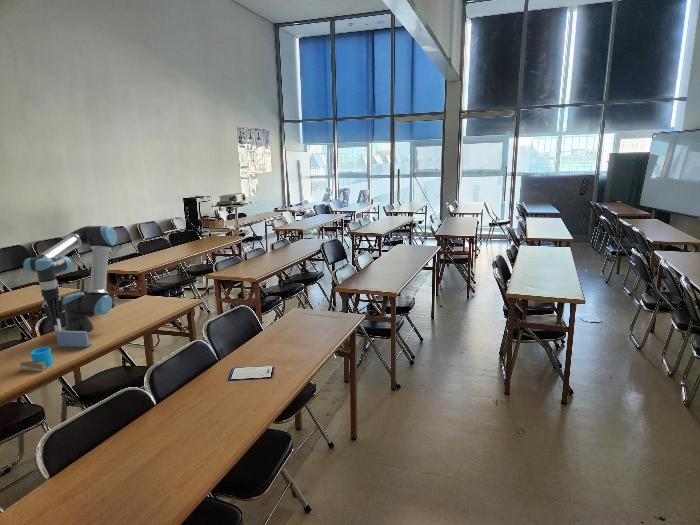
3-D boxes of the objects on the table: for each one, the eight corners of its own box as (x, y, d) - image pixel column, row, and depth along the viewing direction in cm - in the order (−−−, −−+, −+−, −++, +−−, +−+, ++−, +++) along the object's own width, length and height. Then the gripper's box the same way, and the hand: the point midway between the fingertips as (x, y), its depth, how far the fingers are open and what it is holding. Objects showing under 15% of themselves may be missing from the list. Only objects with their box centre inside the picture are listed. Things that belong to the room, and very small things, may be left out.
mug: (50, 367, 226) (47, 352, 224) (31, 370, 223) (28, 355, 221) (57, 357, 237) (54, 343, 235) (39, 360, 234) (36, 345, 232)
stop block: (24, 368, 225) (23, 361, 224) (46, 369, 223) (44, 361, 222) (21, 370, 223) (19, 362, 222) (42, 371, 221) (41, 363, 221)
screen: (63, 344, 254) (60, 329, 252) (92, 345, 252) (89, 330, 250) (58, 346, 251) (55, 331, 249) (87, 347, 248) (84, 332, 246)
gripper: (52, 284, 239) (61, 325, 245) (32, 291, 227) (42, 335, 233) (65, 284, 238) (73, 325, 244) (45, 292, 226) (55, 335, 232)
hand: (58, 330), depth 239 cm, fingers closed
